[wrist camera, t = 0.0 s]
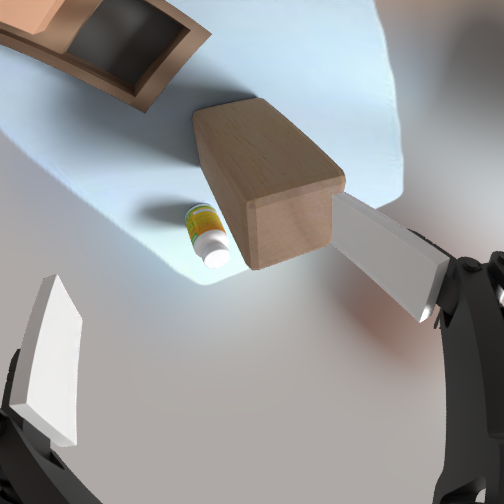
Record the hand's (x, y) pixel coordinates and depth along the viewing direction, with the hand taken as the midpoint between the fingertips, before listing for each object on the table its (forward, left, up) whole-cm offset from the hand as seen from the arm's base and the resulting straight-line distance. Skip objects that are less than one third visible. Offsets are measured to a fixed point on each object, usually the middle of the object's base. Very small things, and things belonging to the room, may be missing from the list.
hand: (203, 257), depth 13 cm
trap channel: (-3, -23, -28) cm, 36 cm away
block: (0, +14, -28) cm, 31 cm away
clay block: (-3, -18, -25) cm, 31 cm away
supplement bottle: (+14, +20, -28) cm, 37 cm away
